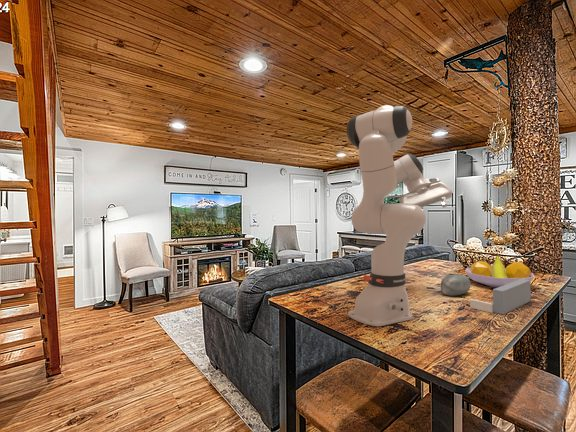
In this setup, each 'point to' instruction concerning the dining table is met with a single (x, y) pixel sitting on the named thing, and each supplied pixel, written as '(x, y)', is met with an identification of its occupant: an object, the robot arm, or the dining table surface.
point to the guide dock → (506, 298)
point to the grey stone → (455, 284)
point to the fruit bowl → (498, 273)
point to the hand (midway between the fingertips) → (433, 210)
